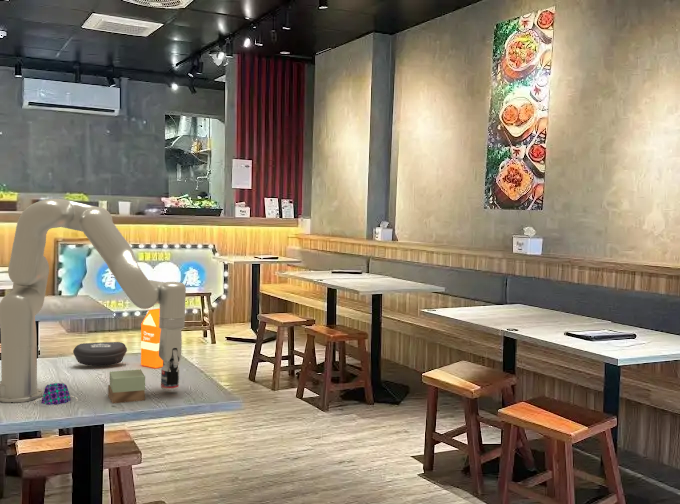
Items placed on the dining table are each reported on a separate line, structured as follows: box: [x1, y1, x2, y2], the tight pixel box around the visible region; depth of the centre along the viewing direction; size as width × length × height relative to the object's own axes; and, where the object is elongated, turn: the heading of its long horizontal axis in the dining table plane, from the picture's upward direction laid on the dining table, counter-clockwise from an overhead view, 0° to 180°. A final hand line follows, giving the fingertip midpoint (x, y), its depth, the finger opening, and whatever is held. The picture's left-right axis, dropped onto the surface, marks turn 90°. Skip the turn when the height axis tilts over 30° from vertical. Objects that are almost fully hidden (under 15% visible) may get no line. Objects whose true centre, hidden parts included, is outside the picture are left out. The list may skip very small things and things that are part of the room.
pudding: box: [33, 382, 79, 408], centre depth 206 cm, size 12×12×5 cm
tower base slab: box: [107, 384, 146, 404], centre depth 211 cm, size 9×9×4 cm
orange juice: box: [140, 307, 163, 369], centre depth 254 cm, size 8×9×20 cm
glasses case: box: [72, 341, 128, 367], centre depth 253 cm, size 18×10×8 cm, turn 111°
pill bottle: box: [160, 359, 180, 391], centre depth 217 cm, size 5×5×9 cm
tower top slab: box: [109, 369, 146, 393], centre depth 210 cm, size 9×9×4 cm
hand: (169, 381), depth 217 cm, fingers closed on pill bottle, 5 cm apart
